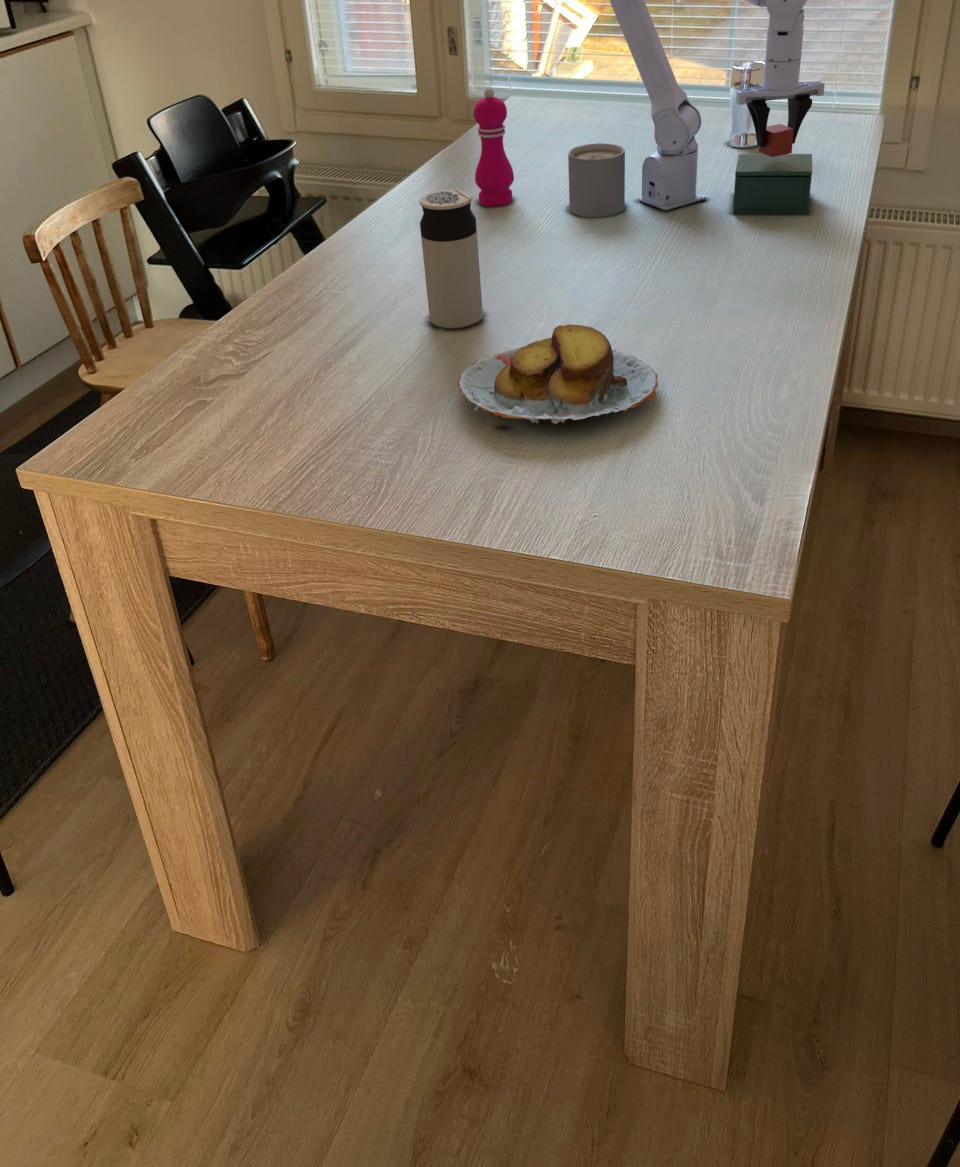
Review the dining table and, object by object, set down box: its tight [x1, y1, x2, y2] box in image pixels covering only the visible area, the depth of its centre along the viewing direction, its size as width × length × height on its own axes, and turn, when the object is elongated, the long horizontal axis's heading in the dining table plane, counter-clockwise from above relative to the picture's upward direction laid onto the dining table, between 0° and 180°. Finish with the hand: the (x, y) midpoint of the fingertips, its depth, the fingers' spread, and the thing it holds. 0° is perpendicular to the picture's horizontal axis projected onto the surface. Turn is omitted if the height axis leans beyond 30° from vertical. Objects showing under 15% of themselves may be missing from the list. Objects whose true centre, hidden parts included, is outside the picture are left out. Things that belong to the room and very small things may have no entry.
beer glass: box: [728, 60, 765, 149], centre depth 225 cm, size 7×7×15 cm
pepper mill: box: [473, 87, 515, 208], centre depth 205 cm, size 7×7×20 cm
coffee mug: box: [567, 142, 626, 218], centre depth 202 cm, size 13×10×10 cm
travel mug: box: [418, 189, 484, 330], centre depth 162 cm, size 8×8×18 cm
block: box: [758, 123, 794, 157], centre depth 192 cm, size 4×4×4 cm
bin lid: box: [734, 153, 813, 177], centre depth 194 cm, size 11×13×1 cm
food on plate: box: [457, 324, 659, 428], centre depth 143 cm, size 25×25×7 cm
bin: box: [732, 175, 813, 216], centre depth 197 cm, size 11×13×6 cm
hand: (775, 143), depth 192 cm, fingers closed on block, 5 cm apart
